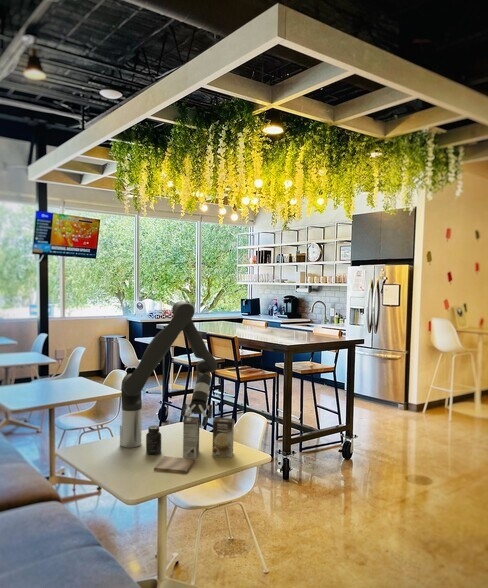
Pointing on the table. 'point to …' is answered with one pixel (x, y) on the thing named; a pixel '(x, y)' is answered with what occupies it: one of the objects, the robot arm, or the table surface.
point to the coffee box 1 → (191, 437)
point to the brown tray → (174, 464)
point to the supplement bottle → (153, 441)
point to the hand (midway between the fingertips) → (194, 425)
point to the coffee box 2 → (223, 437)
